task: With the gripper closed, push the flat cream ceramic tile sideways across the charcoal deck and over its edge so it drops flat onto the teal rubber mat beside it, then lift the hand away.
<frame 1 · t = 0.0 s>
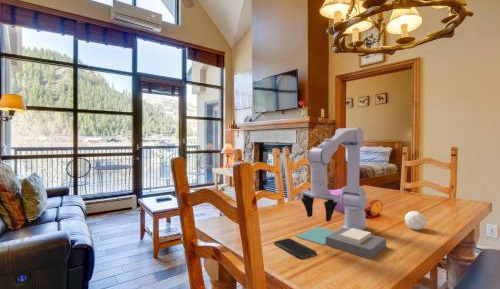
hand: (318, 218, 94), 10 cm above the table, tool pointing down, fingers open, 7 cm apart
tile: (355, 237, 94), point 3 cm above the table, touching deck
geometric ball: (415, 229, 112), on the table
mat: (319, 235, 105), on the table
phone: (294, 250, 92), on the table
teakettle: (346, 209, 145), on the table
deck: (355, 245, 94), on the table
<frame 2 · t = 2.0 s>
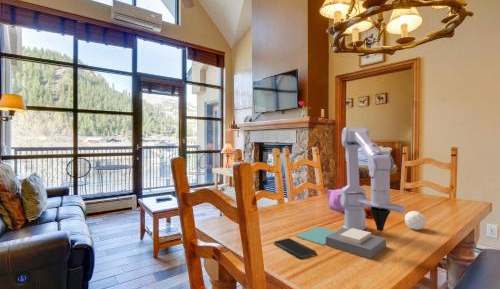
hand: (380, 230, 88), 8 cm above the table, tool pointing down, fingers closed
nothing on the table moved.
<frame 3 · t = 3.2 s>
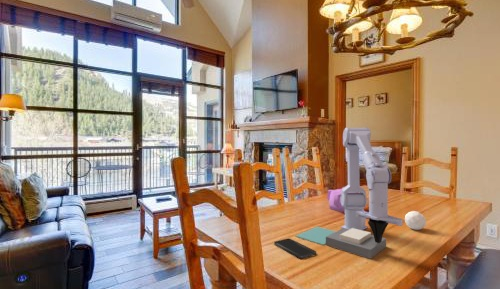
hand: (378, 241, 89), 4 cm above the table, tool pointing down, fingers closed
nothing on the table moved.
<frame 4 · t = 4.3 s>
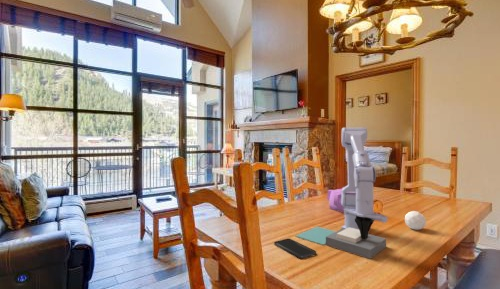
hand: (364, 238, 92), 4 cm above the table, tool pointing down, fingers closed
tile: (352, 236, 95), point 3 cm above the table, touching deck, gripper
everything else where it was.
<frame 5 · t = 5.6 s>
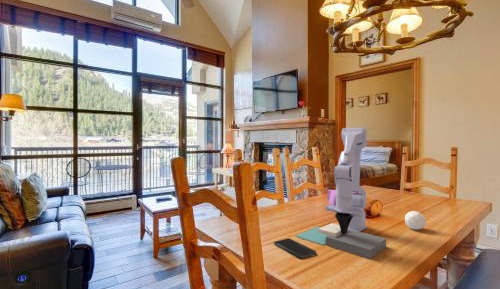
hand: (344, 232, 97), 4 cm above the table, tool pointing down, fingers closed
tile: (333, 231, 101), point 3 cm above the table, touching gripper
everything else where it was.
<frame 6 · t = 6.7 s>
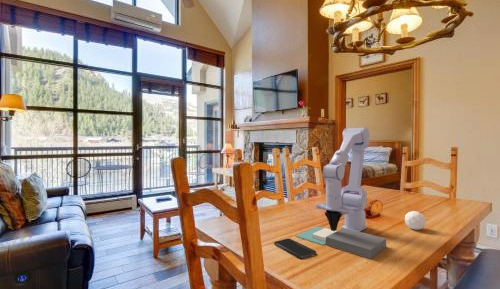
hand: (333, 230, 101), 4 cm above the table, tool pointing down, fingers closed
tile: (326, 236, 103), resting on mat
everything else where it was.
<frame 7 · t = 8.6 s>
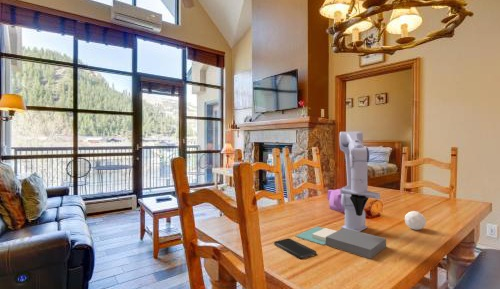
hand: (359, 215, 98), 10 cm above the table, tool pointing down, fingers closed
nothing on the table moved.
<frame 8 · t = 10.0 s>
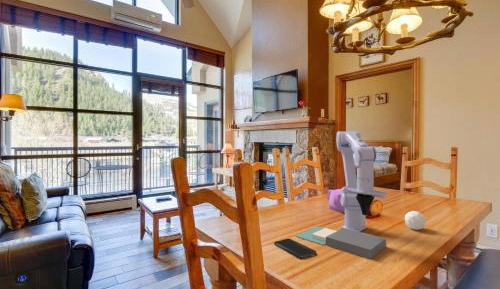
hand: (365, 214, 98), 10 cm above the table, tool pointing down, fingers closed
nothing on the table moved.
at the end: tile inside the target area (3.3 cm from its centre), resting on mat; tile tilted 0° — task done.
